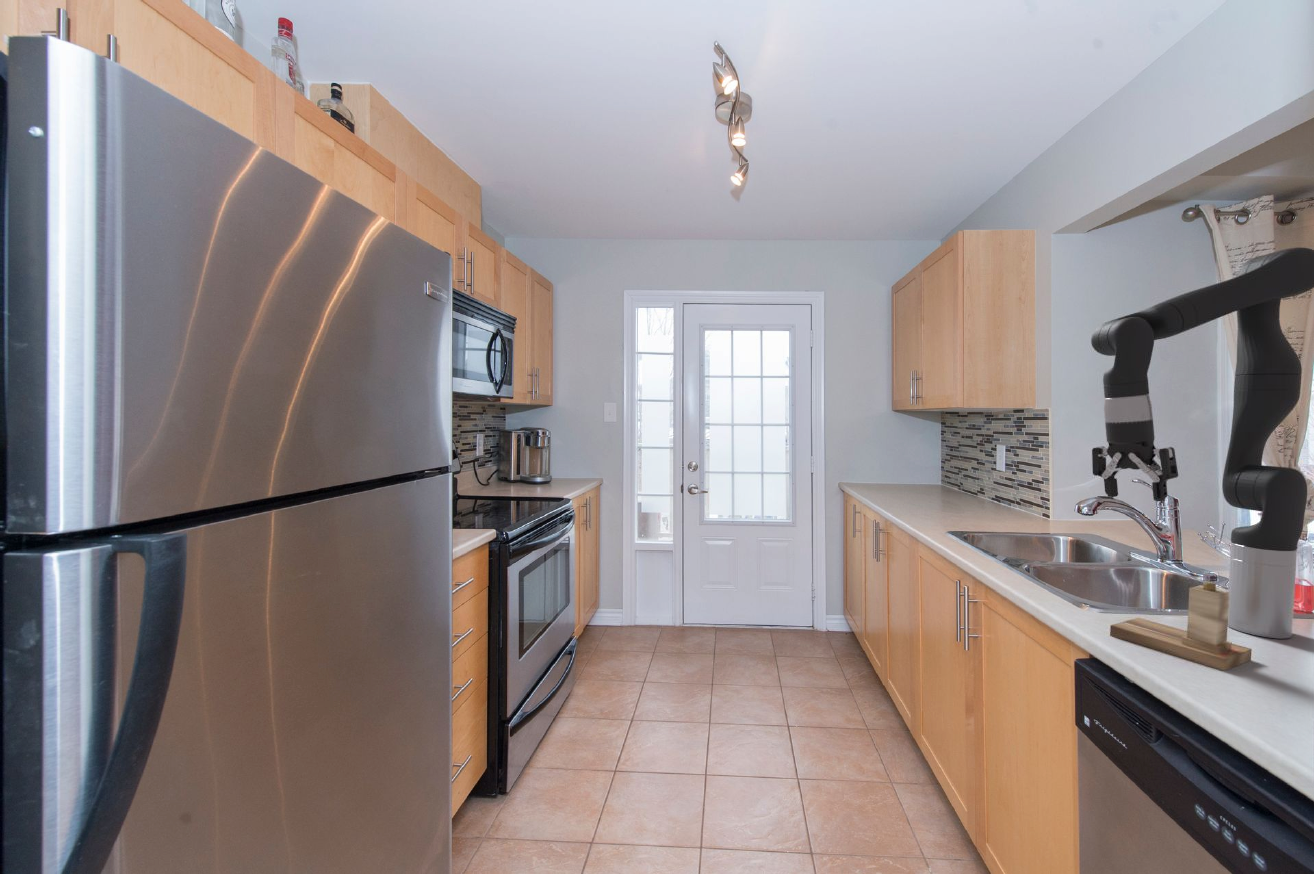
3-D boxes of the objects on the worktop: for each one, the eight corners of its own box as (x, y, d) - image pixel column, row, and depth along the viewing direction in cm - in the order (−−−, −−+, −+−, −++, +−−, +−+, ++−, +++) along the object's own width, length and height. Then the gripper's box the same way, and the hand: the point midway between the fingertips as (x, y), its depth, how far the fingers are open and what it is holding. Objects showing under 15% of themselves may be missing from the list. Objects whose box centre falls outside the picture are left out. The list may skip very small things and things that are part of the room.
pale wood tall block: (1195, 639, 107) (1198, 577, 107) (1235, 650, 102) (1238, 586, 102) (1181, 643, 105) (1184, 581, 105) (1221, 655, 100) (1225, 589, 100)
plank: (1137, 627, 118) (1138, 617, 118) (1251, 659, 103) (1251, 648, 103) (1110, 635, 114) (1110, 625, 114) (1224, 670, 99) (1224, 659, 99)
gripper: (1182, 415, 112) (1189, 499, 113) (1104, 417, 126) (1110, 492, 126) (1156, 419, 110) (1163, 505, 110) (1079, 421, 123) (1086, 498, 124)
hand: (1135, 498), depth 118 cm, fingers open, 8 cm apart
